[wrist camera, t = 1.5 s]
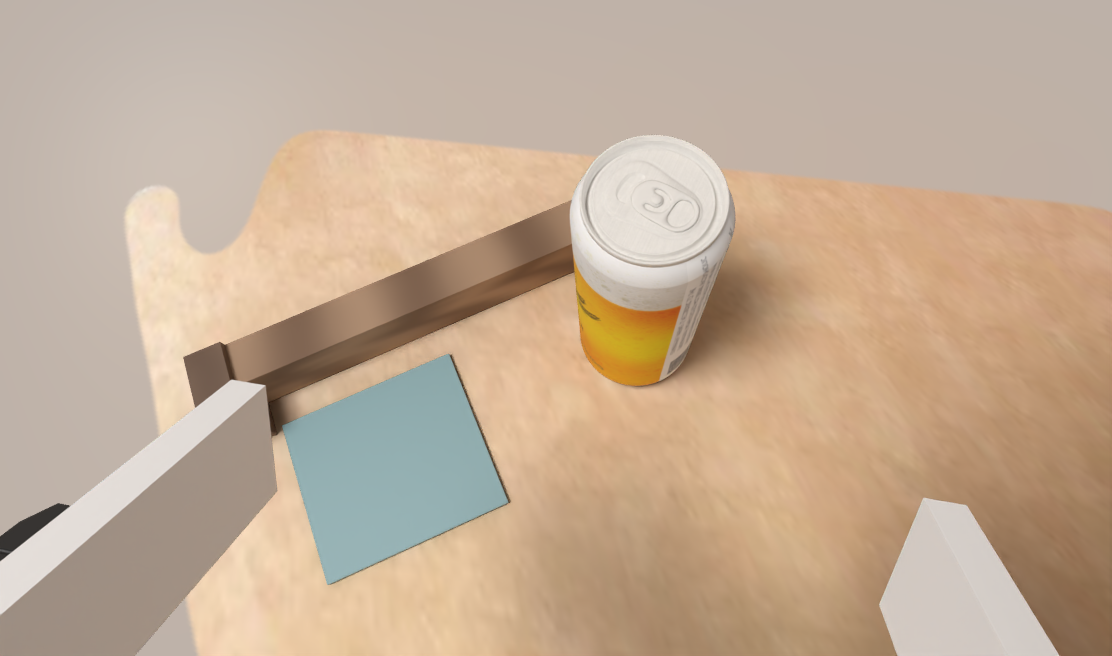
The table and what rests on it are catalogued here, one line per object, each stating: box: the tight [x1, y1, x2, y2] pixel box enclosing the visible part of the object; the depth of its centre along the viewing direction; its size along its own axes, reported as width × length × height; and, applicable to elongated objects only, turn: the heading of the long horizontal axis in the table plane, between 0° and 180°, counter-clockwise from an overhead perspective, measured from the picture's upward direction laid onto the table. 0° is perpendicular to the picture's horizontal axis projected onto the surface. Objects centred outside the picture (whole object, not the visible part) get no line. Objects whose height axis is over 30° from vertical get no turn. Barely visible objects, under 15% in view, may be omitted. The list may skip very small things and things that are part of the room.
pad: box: [282, 354, 509, 585], centre depth 35 cm, size 10×9×1 cm
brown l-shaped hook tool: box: [183, 200, 574, 437], centre depth 36 cm, size 24×4×4 cm, turn 114°
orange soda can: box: [570, 135, 735, 386], centre depth 30 cm, size 6×6×15 cm
